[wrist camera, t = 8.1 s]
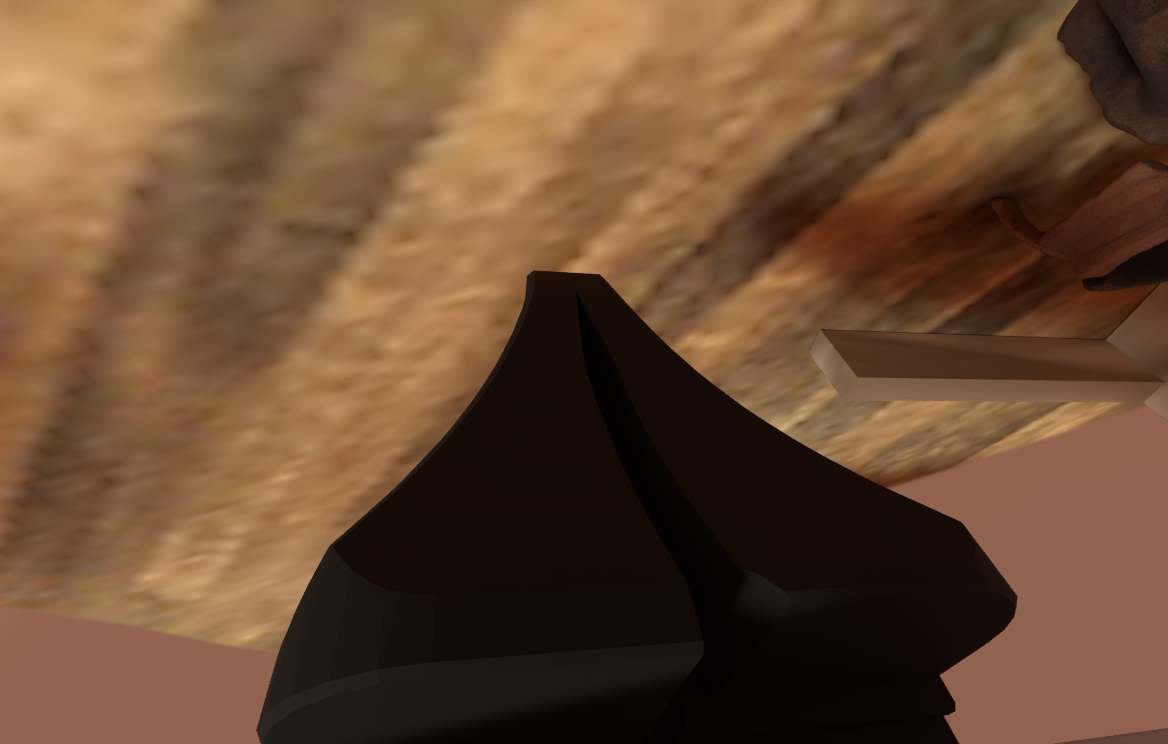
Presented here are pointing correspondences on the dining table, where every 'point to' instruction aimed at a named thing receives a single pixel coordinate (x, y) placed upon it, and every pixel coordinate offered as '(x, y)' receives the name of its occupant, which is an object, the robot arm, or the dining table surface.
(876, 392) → the maple cradle
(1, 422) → the dining table surface
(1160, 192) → the pottery mug
